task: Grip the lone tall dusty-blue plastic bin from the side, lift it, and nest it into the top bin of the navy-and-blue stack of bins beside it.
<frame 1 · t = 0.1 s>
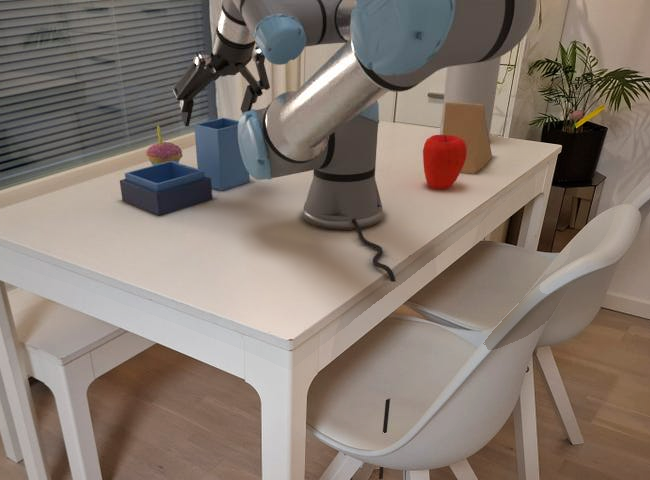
hand: (215, 117, 141), 15 cm above the table, tool tilted 35°, fingers open, 13 cm apart
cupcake: (166, 173, 161), on the table
lone bin: (224, 182, 153), on the table
food: (315, 124, 197), on the table
cylinder vase: (463, 141, 177), on the table
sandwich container: (466, 164, 160), on the table
bin stack: (167, 199, 144), on the table
apple: (440, 187, 146), on the table
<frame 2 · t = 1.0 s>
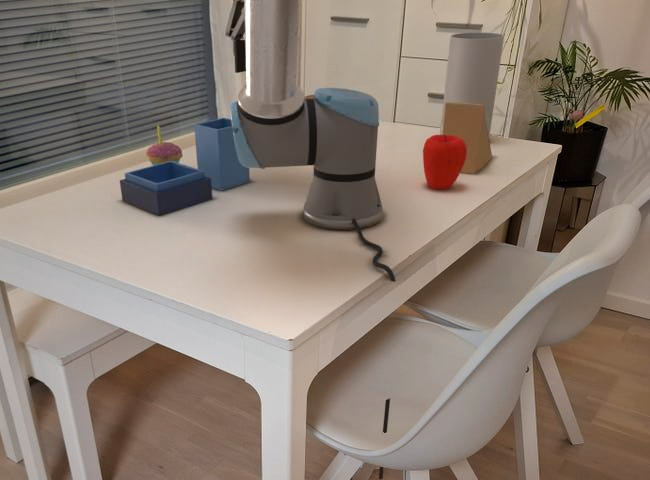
hand: (261, 75, 149), 21 cm above the table, tool pointing down, fingers open, 13 cm apart
nothing on the table moved.
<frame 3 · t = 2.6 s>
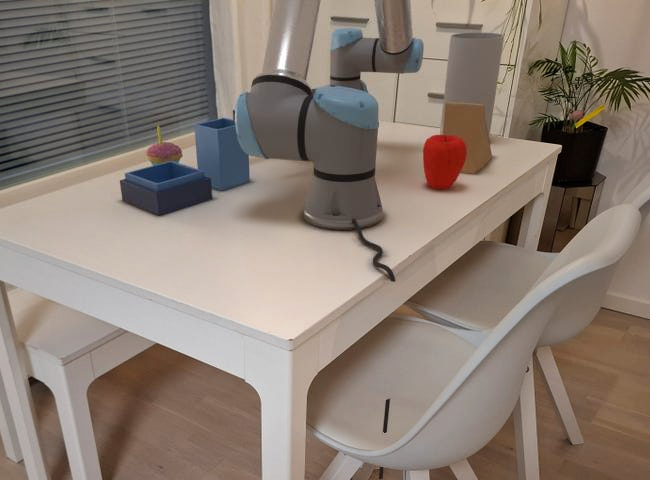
hand: (253, 120, 152), 12 cm above the table, tool horizontal, fingers open, 13 cm apart
nothing on the table moved.
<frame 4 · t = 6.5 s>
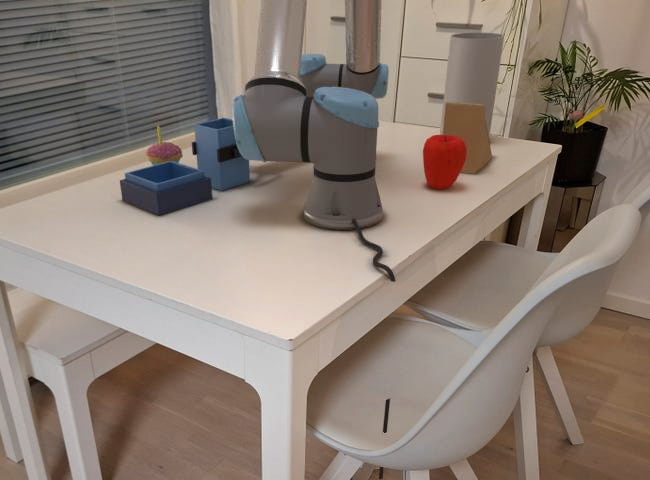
hand: (205, 152, 146), 8 cm above the table, tool horizontal, fingers closed on lone bin, 8 cm apart
lone bin: (224, 182, 153), on the table, touching gripper
everything else where it was.
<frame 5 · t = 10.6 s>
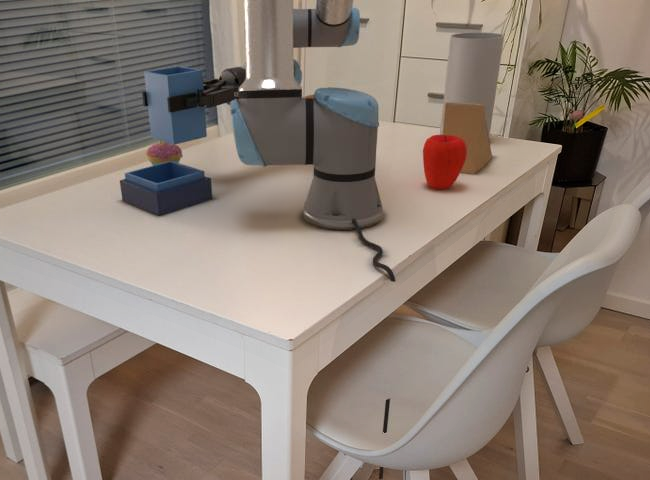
hand: (156, 102, 134), 20 cm above the table, tool horizontal, fingers closed on lone bin, 8 cm apart
lone bin: (179, 137, 140), point 12 cm above the table, touching gripper
everything else where it was.
when the fingers open (9 cm above the table, at t = 14.6 s): lone bin stays where it is, resting on bin stack.
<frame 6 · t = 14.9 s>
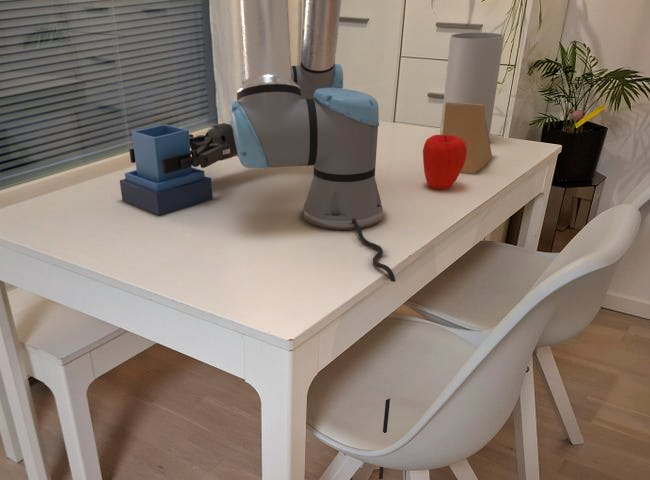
hand: (146, 161, 137), 9 cm above the table, tool horizontal, fingers open, 11 cm apart
lone bin: (166, 193, 144), point 1 cm above the table, touching bin stack
everything else where it was.
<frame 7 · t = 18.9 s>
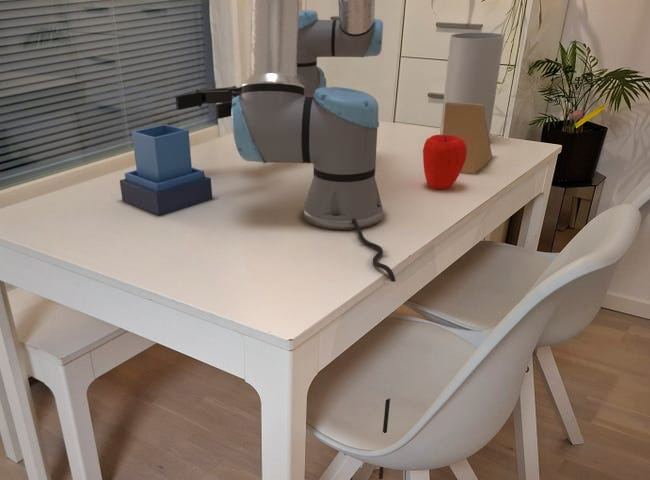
hand: (196, 107, 140), 17 cm above the table, tool horizontal, fingers open, 13 cm apart
nothing on the table moved.
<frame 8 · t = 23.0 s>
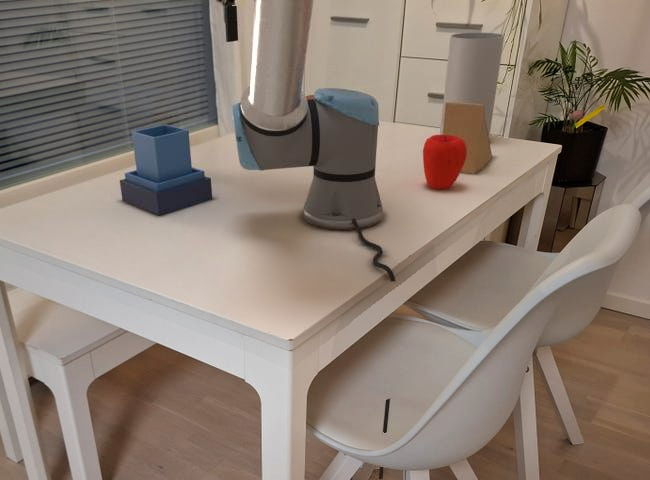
hand: (254, 43, 137), 29 cm above the table, tool pointing down, fingers open, 13 cm apart
nothing on the table moved.
at the end: lone bin 0.1 cm off-centre on the bin stack, point 1.4 cm above the bin stack's base; lone bin tilted 0°; the gripper is holding nothing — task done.
